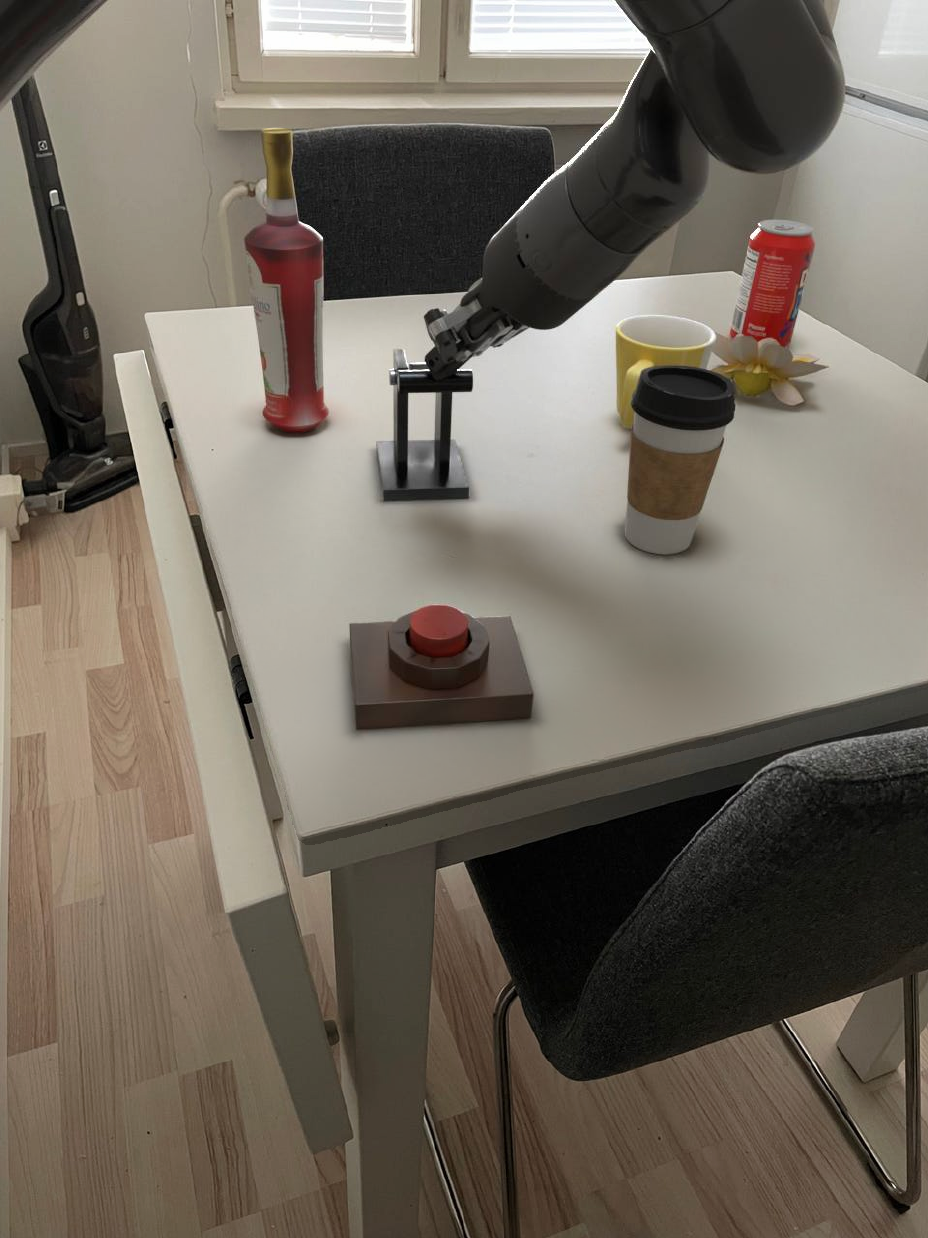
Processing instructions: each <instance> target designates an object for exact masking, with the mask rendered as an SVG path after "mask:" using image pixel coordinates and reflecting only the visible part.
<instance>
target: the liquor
mask: <svg viewBox="0 0 928 1238" xmlns="http://www.w3.org/2000/svg"><path fill="white" fill-rule="evenodd" d="M260 134H261V135H260V136H261V146H262V147H261V149H262V154H263V158H264V164H265V167H266V188H265V189H266V190H265V191H266V197H265V198H266V201H265V203H266V204H265V205H266V208H265V209H266V210H265V216H266V217H265V221H264V222H262V223H260V224H257V225H255V226H254V227H253V228H252V229H251V230H250V231H249V232H248V233H247V234H246V235H245V236H244V238H243V239H244V240H243V241H244V248H245V255H246V263H247V270H248V271H247V272H248V279H249V286H250V293H251V301H252V308H253V312H254V313H253V314H254V319H255V326H256V333H257V339H258V347H259V355H260V362H261V363H260V364H261V370H262V380H263V388H264V396H265V397H264V398H265V406H264V407H263V409H262V417H263V418H264V419H265V420H266V421H268V422H269V423H270V424H271V425H272V426H274V427H275V428H277V429H278V430H279V431H281V432H282V431H283V432H285V433H289V434H299V433H301V434H302V433H307V432H311V431H312V430H315V429H316V428H317V427H318V426H319V425H320V424H321V423H323V421H324V420H325V419H326V418H327V417H328V416H329V412H330V411H329V410H330V409H329V407H328V406H327V405H326V403H325V392H324V391H325V390H324V389H325V388H324V386H325V385H324V237H323V236H322V235H321V234H320V233H319V232H318V231H317V230H315V229H314V228H313V227H312V226H310V225H308V224H306V223H303V222H302V221H300V218H299V212H298V206H297V200H296V192H295V186H294V178H293V172H292V163H293V156H294V155H293V154H294V148H293V147H294V146H293V131H292V130H291V129H288V128H285V127H284V128H283V127H269V128H268V127H267V128H262V129H261V130H260Z"/></svg>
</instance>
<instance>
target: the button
mask: <svg viewBox="0 0 928 1238" xmlns="http://www.w3.org/2000/svg"><path fill="white" fill-rule="evenodd" d="M414 611H415V612H414V613H413V614H412V616H411V618H410V645H411V647H412V648H413V650H414V651H415V652H417V653H418V654H421V655H424V656H427V657H431V658H448V657H453V656H455V655H458V654H460V653H461V652H462V651H463V650H464V649H465V647H466V645H467V636H468V619H467V617H466V615H465V614H464V613H465V612H464V611H462V610H460V609H458V608H457V607H455V606H452V605H448V604H447V605H446V604H430V605H429V604H428V605H425V606H422V607H420V608H418V609H416V610H414ZM463 612H464V613H463Z"/></svg>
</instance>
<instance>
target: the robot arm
mask: <svg viewBox="0 0 928 1238" xmlns="http://www.w3.org/2000/svg"><path fill="white" fill-rule="evenodd" d="M612 1H613V3H614V4H615V6H616V7H617V8H618V10H620V11H621V13H622V14H623V15H624V17H626V19H627V20H628V22H629V23H631V25H632V26H633V27H634V28H635V29H636V30H637V32H638V33H640V34H641V36H642V37H643V38H644V39H645V40H646V42H647V43H648V45H649V47H650V49H649V51H648V52H647V54H646V56H645V57H644V60H643V61H642V63H641V65H640V66H639V68H638V70H637V72H636V73H635V75H634V77H633V79H632V80H631V82H630V84H629V86H628V88H627V90H626V92H625V94H624V96H623V99H622V100H621V103H620V105H619V107H618V109H617V111H616V112H615V113H614V115H613V116H612V117H611V118H610V119H609V120H608V121H607V122H606V123H604V125H603V126H602V127H601V128H600V130H598V132H596V134H595V135H594V136H593V137H591V139H590V140H589V141H588V142H587V143H586V144H585V145H584V146H583V147H582V148H581V149H580V150H579V152H578V153H577V154H576V155H575V156H573V157H572V158H571V159H570V160H569V162H567V163H566V164H565V165H563V166H562V167H561V168H559V169H558V170H556V171H555V172H554V173H553V174H552V175H551V176H549V177H548V178H547V179H546V180H545V181H544V182H543V183H542V184H541V185H540V186H539V187H538V188H537V190H536V191H534V193H533V194H532V195H531V196H530V197H529V198H528V199H527V200H526V201H525V202H524V203H523V204H522V205H521V207H519V208H518V210H517V211H516V212H515V213H514V214H513V215H512V216H511V217H510V218H509V219H508V220H507V221H506V223H504V224H503V226H502V227H501V228H500V229H499V230H498V231H496V233H495V234H494V235H493V236H492V237H491V239H490V240H489V241H488V242H487V244H486V246H485V249H484V253H483V261H482V277H481V278H479V279H477V280H476V281H475V282H474V283H472V285H471V286H470V287H469V288H468V290H467V293H465V294H464V295H463V296H462V298H461V299H460V303H459V304H458V305H457V306H456V307H455V308H454V310H453V311H451V312H450V313H448V312H447V310H446V309H443V310H440V308H438V307H437V308H436V307H435V308H431V309H429V310H428V311H427V312H426V313H425V314H424V315H423V320H424V323H425V328H426V330H427V335H428V336H429V339H430V340H431V341H432V343H433V345H434V346H433V347H432V348H431V349H430V350H429V351H428V352H427V353H426V354H425V356H424V363H426V365H427V367H428V368H429V370H430V372H431V374H432V376H433V378H434V379H435V380H440V379H443V378H446V377H449V376H451V375H453V374H454V373H455V372H456V371H457V370H460V369H461V368H462V367H463V366H464V365H465V364H466V363H467V362H468V361H470V360H471V359H472V358H475V357H480V356H482V355H483V353H484V352H485V351H487V350H488V349H489V348H490V347H492V348H494V349H495V348H501V347H502V346H503V345H504V344H505V343H507V342H508V341H510V340H511V339H513V338H515V337H516V336H517V337H518V335H520V334H522V333H523V332H525V331H526V330H528V329H534V330H539V331H548V330H553V329H555V328H558V327H560V326H562V325H563V324H565V323H566V322H567V321H568V320H570V319H571V318H572V317H573V316H574V315H576V314H577V313H578V312H579V311H580V310H581V309H583V308H584V307H585V306H586V305H587V304H588V303H590V302H591V301H592V300H594V299H595V298H596V297H597V296H598V295H600V293H601V292H602V291H604V290H605V289H607V288H608V287H609V286H610V285H611V284H612V283H614V282H615V281H616V280H617V279H618V278H620V277H621V276H622V275H623V274H624V273H625V272H626V271H627V270H628V269H629V268H630V267H631V266H632V265H633V263H634V262H636V260H637V259H638V258H639V257H640V255H642V254H643V252H645V251H646V249H648V248H649V247H651V245H653V244H654V243H655V242H656V241H658V240H659V239H660V238H662V237H663V236H664V235H665V234H666V233H667V232H669V230H671V229H672V228H673V227H674V226H676V224H678V223H679V222H680V221H681V220H682V219H684V218H685V217H686V216H687V215H688V214H689V213H691V211H693V209H694V208H695V207H696V206H697V205H698V204H699V203H700V202H701V200H702V199H703V197H704V196H705V194H706V192H707V189H708V186H709V182H710V179H711V156H712V157H713V158H714V159H715V160H716V161H718V162H719V163H720V164H722V165H724V166H725V167H728V168H729V169H731V170H734V171H736V172H740V173H745V174H750V175H770V174H776V173H781V172H783V171H786V170H789V169H791V168H794V167H796V166H798V165H800V164H801V163H803V162H804V161H806V160H808V159H809V158H810V157H812V156H813V155H815V153H816V152H818V150H819V149H820V148H821V147H822V146H823V145H824V144H825V143H826V142H827V141H828V139H829V137H830V136H831V134H832V133H833V131H834V130H835V128H836V127H837V124H838V122H839V119H840V118H841V115H842V112H843V109H844V104H845V99H846V76H845V71H844V68H843V67H844V66H843V64H842V60H841V57H840V52H839V50H838V48H837V43H836V39H835V36H834V33H833V30H832V29H833V28H832V25H831V23H830V19H829V15H828V11H827V8H826V5H825V2H824V1H825V0H612ZM106 2H108V0H0V112H1V111H2V110H3V109H4V108H5V107H6V106H7V105H8V103H9V102H10V101H11V100H12V99H13V97H14V96H15V95H16V94H17V93H18V92H19V91H20V90H21V88H22V87H24V85H25V83H26V82H28V80H29V79H30V78H31V77H32V76H33V75H34V73H36V72H37V70H39V68H41V66H42V65H43V64H44V63H45V62H46V60H48V59H49V57H50V56H51V55H52V54H54V53H55V52H56V51H57V50H58V48H60V47H61V46H62V45H63V44H64V43H65V42H66V41H67V40H68V39H69V38H70V37H71V36H72V35H73V34H74V33H75V32H77V30H79V29H80V27H82V26H83V25H84V23H86V22H87V21H88V20H89V19H90V18H91V17H92V16H93V15H94V14H95V13H97V11H98V10H99V9H100V8H102V6H103V5H105V4H106Z"/></svg>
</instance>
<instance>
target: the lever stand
mask: <svg viewBox="0 0 928 1238" xmlns="http://www.w3.org/2000/svg"><path fill="white" fill-rule="evenodd" d="M392 352H393V353H392V354H393V357H392V359H393V363H392V364H393V366H392V367H393V368H390V369H388V370H389V371H388V379H389V385H390V386H393V390H392V391H393V397H392V399H393V409H392V410H393V412H392V413H393V440H377V441H376V458H377V465H378V472H379V479H380V485H381V493H382V499H383V502H391V501H392V502H395V501H397V502H398V501H422V500H423V501H424V500H426V501H427V500H454V499H455V500H456V499H459V500H460V499H469V497H470V485H469V482H468V479H467V478H468V477H467V475H466V472H465V469H464V465H463V461H462V458H461V455H460V451H459V448H458V444H457V440H456V439H452V416H453V414H452V413H453V392H445V393H435V396H434V397H435V400H434V401H435V403H434V405H435V406H434V408H435V409H434V435H433V436H434V437H433V438H434V439H418V440H417V439H416V440H415V439H414V440H412V439H411V440H409V393H399V392H398V371H399V370H409V363H408V359H407V355H406V351H405V348H394V349H393V351H392Z"/></svg>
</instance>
